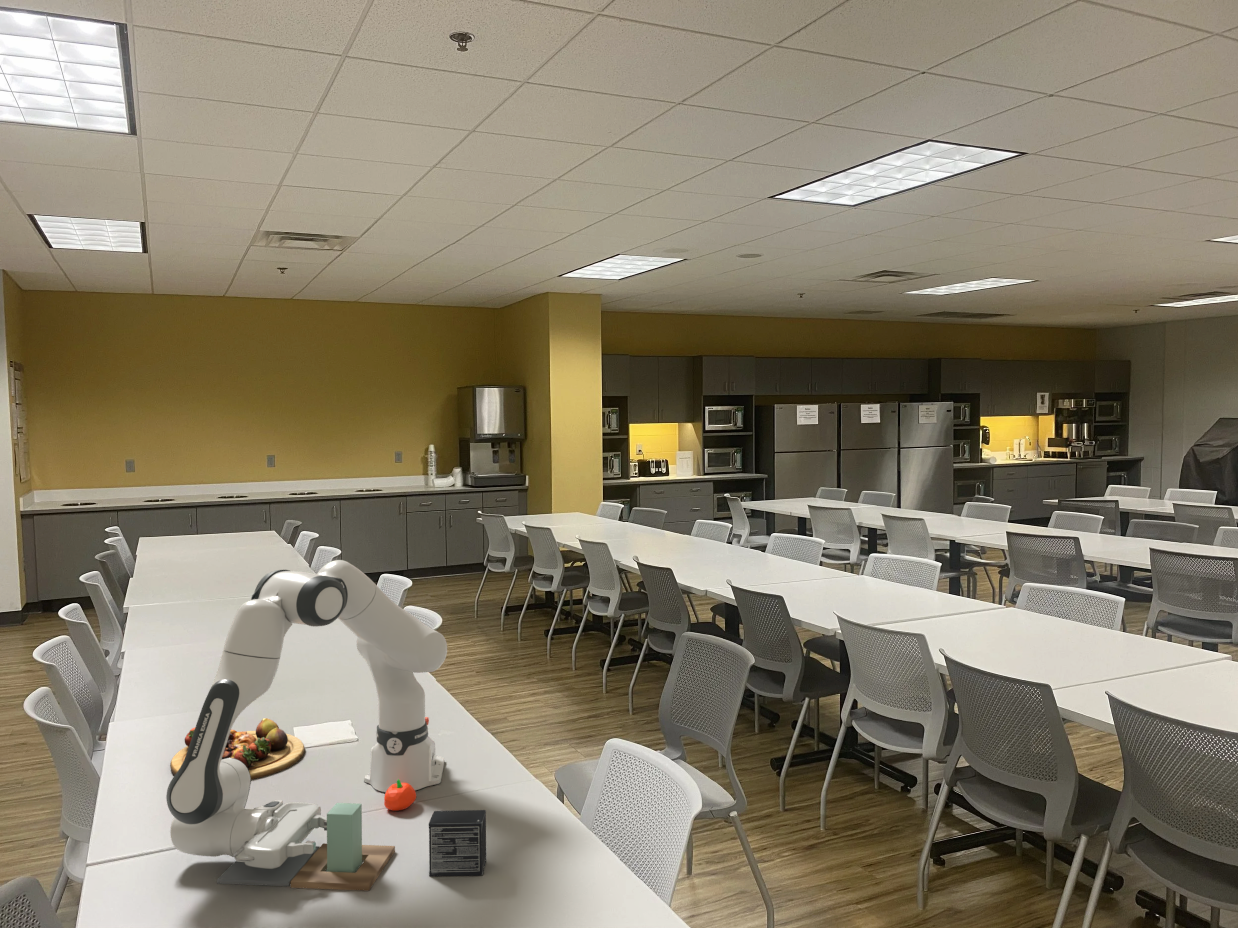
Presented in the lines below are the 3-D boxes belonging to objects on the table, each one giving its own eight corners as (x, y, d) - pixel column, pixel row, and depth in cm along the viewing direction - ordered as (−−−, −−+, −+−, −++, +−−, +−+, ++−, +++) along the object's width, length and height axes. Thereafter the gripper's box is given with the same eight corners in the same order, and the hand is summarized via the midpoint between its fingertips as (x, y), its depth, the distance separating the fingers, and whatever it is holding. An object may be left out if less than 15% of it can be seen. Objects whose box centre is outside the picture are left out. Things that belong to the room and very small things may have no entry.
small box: (487, 859, 174) (487, 807, 173) (483, 876, 167) (483, 822, 167) (434, 860, 173) (433, 808, 173) (428, 877, 167) (427, 823, 167)
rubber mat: (253, 847, 178) (253, 843, 178) (319, 850, 177) (319, 846, 177) (217, 883, 164) (217, 878, 164) (289, 885, 163) (289, 881, 163)
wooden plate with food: (142, 769, 220) (141, 737, 219) (248, 729, 248) (248, 701, 247) (227, 797, 205) (227, 763, 204) (330, 752, 233) (330, 722, 232)
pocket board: (323, 848, 178) (323, 843, 178) (394, 851, 177) (394, 845, 177) (290, 887, 163) (290, 881, 163) (368, 890, 162) (368, 884, 162)
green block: (337, 862, 172) (336, 802, 172) (362, 863, 172) (361, 803, 172) (327, 874, 168) (326, 813, 167) (352, 875, 167) (352, 814, 167)
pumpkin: (385, 819, 193) (381, 791, 192) (385, 804, 201) (381, 777, 200) (418, 811, 195) (414, 783, 194) (416, 796, 202) (413, 770, 202)
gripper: (228, 842, 160) (301, 845, 159) (279, 795, 181) (344, 797, 180) (229, 876, 161) (301, 878, 160) (279, 825, 181) (344, 827, 180)
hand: (324, 835), depth 170 cm, fingers open, 8 cm apart
